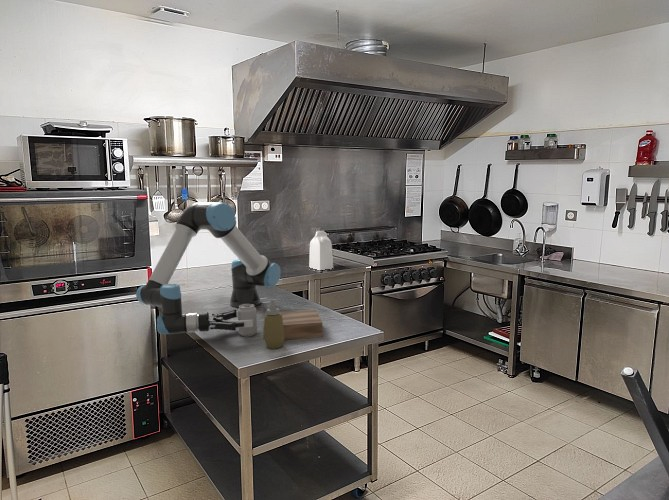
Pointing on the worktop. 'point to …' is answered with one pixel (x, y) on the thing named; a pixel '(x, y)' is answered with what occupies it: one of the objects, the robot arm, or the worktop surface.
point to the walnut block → (301, 324)
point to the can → (247, 314)
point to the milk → (320, 252)
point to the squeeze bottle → (273, 327)
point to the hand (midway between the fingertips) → (252, 318)
